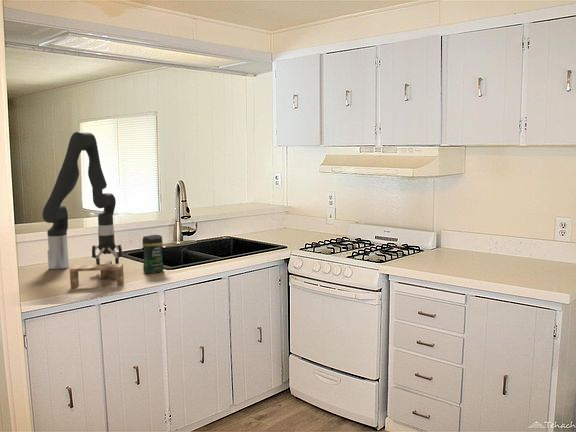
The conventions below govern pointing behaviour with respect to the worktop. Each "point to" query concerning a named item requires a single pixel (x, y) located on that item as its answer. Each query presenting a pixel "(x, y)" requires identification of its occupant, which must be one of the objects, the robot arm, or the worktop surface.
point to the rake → (108, 273)
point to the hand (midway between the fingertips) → (107, 265)
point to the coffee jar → (152, 254)
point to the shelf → (74, 270)
